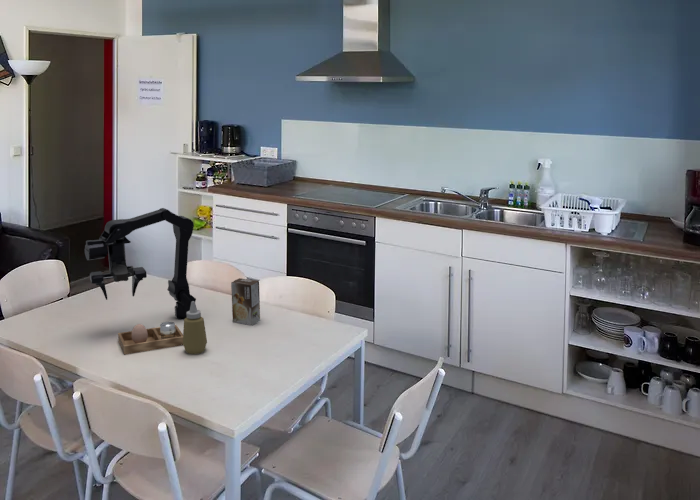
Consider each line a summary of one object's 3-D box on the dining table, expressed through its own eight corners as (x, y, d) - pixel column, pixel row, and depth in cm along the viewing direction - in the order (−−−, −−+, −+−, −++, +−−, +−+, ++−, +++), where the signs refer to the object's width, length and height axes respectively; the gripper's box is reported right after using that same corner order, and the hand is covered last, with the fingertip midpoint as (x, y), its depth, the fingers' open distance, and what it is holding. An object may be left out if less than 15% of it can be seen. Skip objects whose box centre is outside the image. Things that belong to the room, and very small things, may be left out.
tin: (174, 336, 233) (173, 320, 231) (177, 341, 228) (176, 325, 227) (159, 338, 231) (158, 322, 229) (162, 343, 226) (161, 327, 225)
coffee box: (261, 320, 252) (260, 280, 248) (252, 326, 246) (251, 285, 242) (240, 317, 255) (239, 277, 251) (231, 322, 249) (230, 282, 245)
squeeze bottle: (185, 347, 225) (182, 298, 220) (209, 347, 225) (207, 297, 221) (181, 357, 217) (178, 305, 213) (205, 356, 218) (203, 305, 213)
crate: (176, 333, 237) (175, 324, 236) (184, 346, 226) (184, 336, 225) (118, 342, 228) (118, 333, 227) (124, 356, 217) (123, 346, 216)
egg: (135, 348, 222) (133, 328, 220) (130, 343, 226) (128, 323, 224) (150, 345, 225) (149, 325, 223) (145, 340, 229) (143, 320, 227)
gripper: (91, 264, 221) (95, 308, 225) (148, 258, 230) (150, 301, 234) (88, 256, 231) (91, 298, 235) (142, 251, 239) (145, 292, 243)
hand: (120, 297), depth 236 cm, fingers open, 9 cm apart
